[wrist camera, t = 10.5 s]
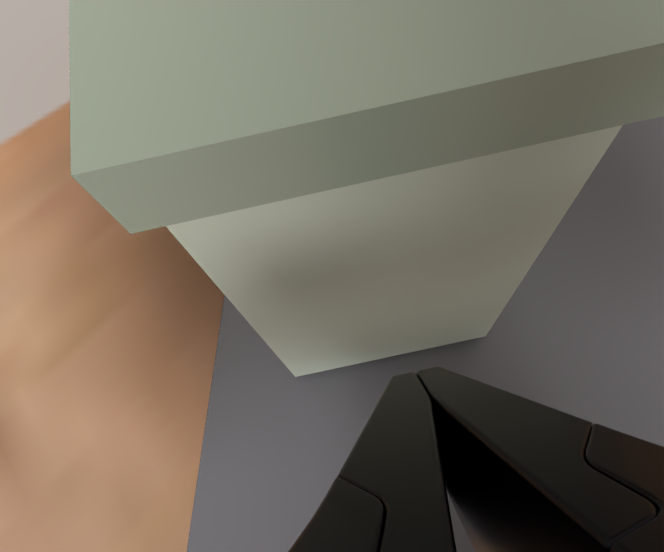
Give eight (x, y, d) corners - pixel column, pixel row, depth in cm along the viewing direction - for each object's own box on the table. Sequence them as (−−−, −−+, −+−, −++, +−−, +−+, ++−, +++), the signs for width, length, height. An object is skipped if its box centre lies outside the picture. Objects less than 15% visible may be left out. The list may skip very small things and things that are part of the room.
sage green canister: (497, 342, 15) (737, 25, 5) (288, 387, 15) (71, 175, 5) (440, 165, 17) (517, -316, 7) (258, 205, 17) (66, -209, 7)
